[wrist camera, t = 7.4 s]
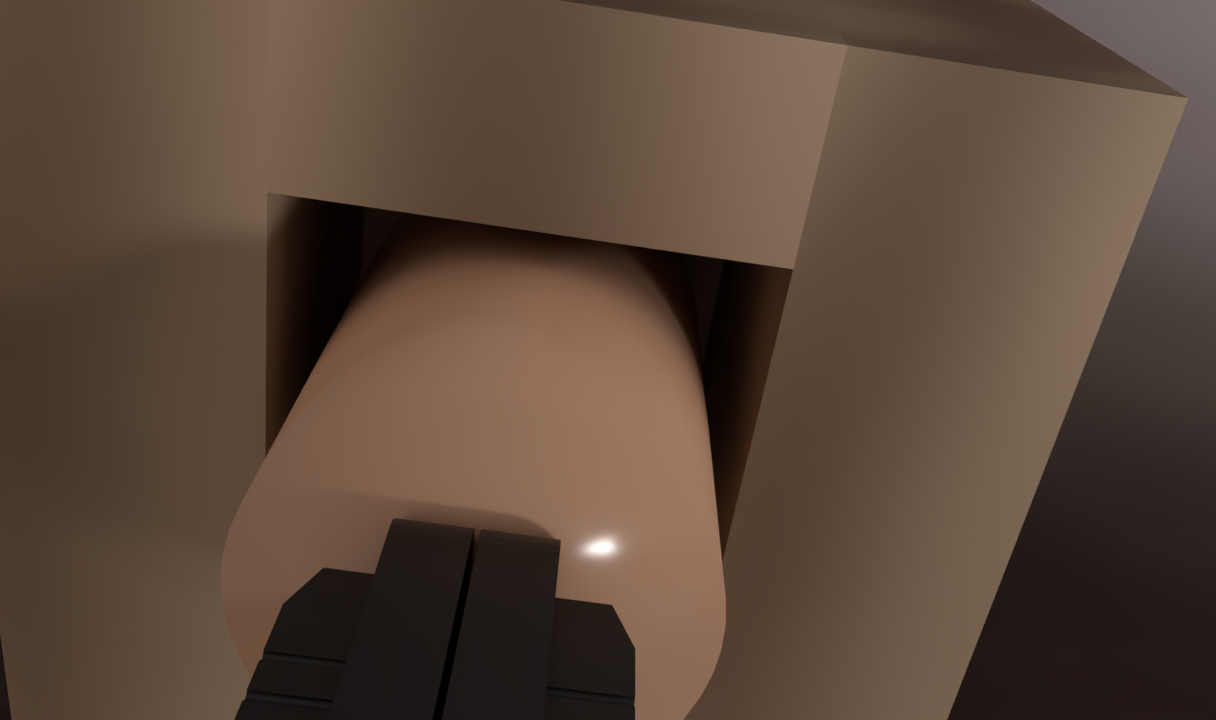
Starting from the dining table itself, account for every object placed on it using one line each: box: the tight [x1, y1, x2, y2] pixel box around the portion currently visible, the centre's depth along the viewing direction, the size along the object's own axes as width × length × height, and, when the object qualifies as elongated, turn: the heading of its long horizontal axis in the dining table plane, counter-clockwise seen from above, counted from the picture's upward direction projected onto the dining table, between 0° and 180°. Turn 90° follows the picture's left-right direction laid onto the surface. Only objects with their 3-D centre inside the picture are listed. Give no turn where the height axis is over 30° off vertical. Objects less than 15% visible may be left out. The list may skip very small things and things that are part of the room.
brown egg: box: [220, 212, 726, 720], centre depth 13 cm, size 5×5×6 cm
